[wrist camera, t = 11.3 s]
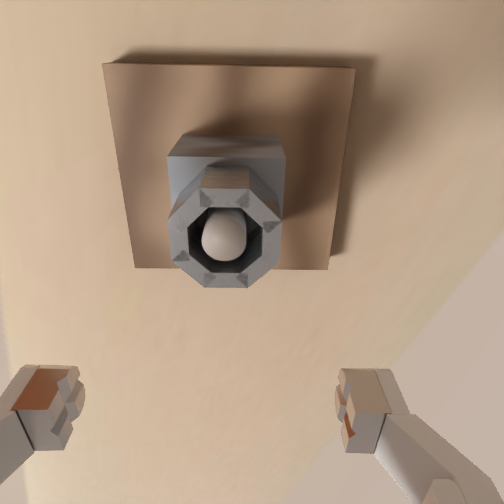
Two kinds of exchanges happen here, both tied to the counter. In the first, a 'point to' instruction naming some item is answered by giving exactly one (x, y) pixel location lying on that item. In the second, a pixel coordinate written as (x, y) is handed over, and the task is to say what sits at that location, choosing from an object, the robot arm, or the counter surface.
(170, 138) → the post stand
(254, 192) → the collar
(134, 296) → the counter surface
